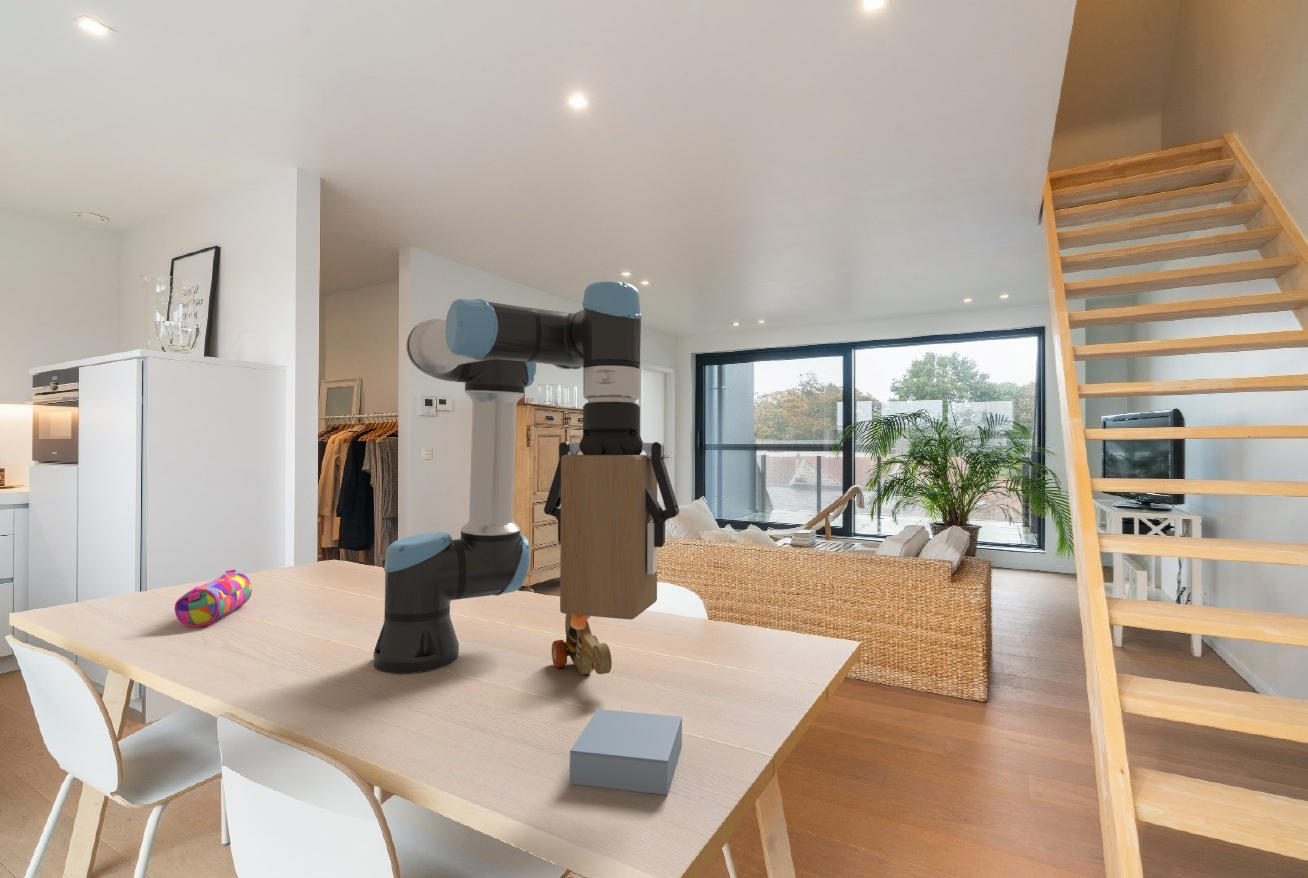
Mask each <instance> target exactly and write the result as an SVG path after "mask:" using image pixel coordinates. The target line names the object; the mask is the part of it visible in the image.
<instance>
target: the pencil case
mask: <svg viewBox="0 0 1308 878" xmlns="http://www.w3.org/2000/svg"><path fill="white" fill-rule="evenodd" d="M252 590H253V589H252V584H251V581H250V579H249V577H248V576H247V575H246V574H244V573H239V572H236V569H228V570H225V571H224V573H223V574H222V575H220V576H219V577H217V578H215V579H213V580H212V581H210V582H207V583H205V584H204V583H203V584H202V585H199V586H195V587H194V588H193V589H191V590H189V591H188V592H186V593H184V594H183V595H182V596H180V597H179V598H178V599H177V600H176V602H175V604H174V613H175V616H176V618H177V620H178V621H179V622H180V623H181V624H182V625H184V626H186V627H188V628H197V629H198V628H204V627H207V626H209V625H211V624H212V623H214V622H216V621H217V620H220V619H222V618H223V617H225V616H226V615H228V614H230V613H232V612H233V611H235V610H236V609H238V608H240V607H242V606H243V605H245V604H246V603H247V602H248V601H249V600H250V599H251V597H252V594H253V593H252V592H253V591H252Z"/></svg>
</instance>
